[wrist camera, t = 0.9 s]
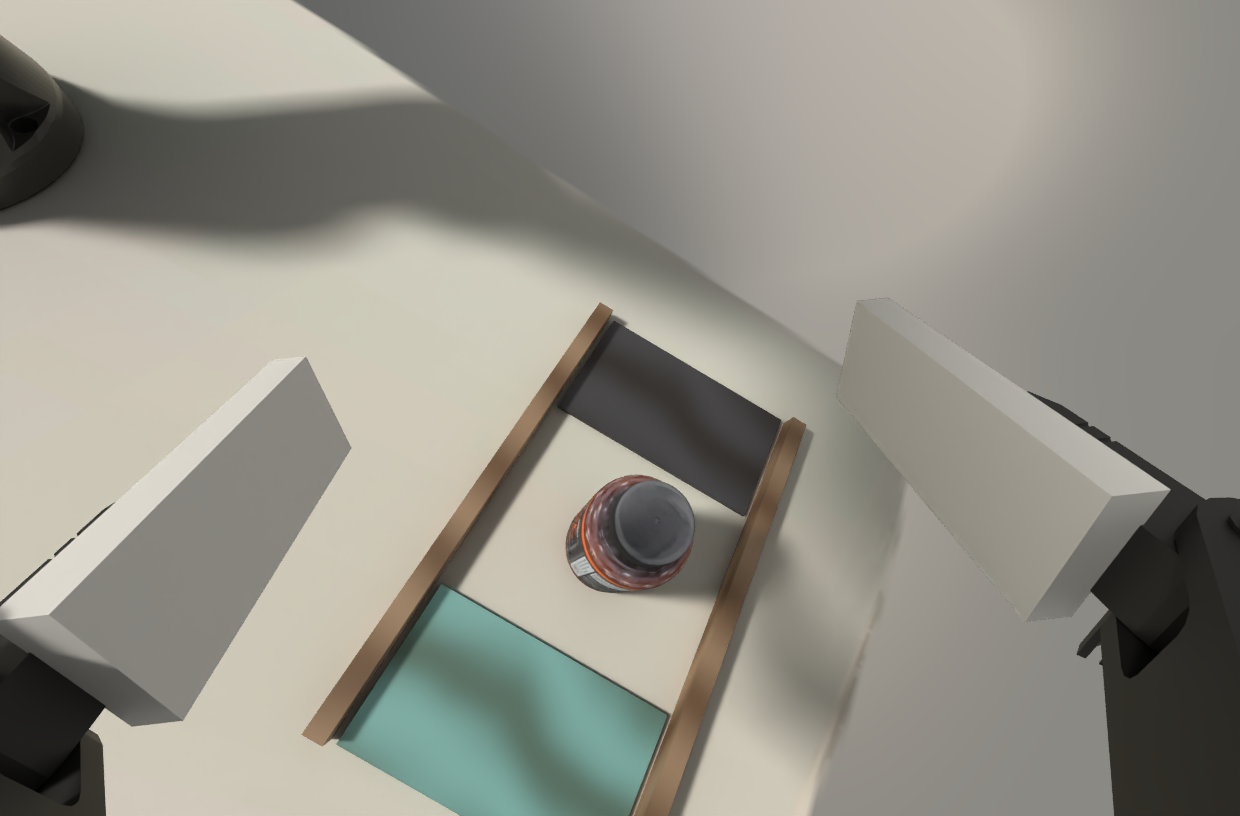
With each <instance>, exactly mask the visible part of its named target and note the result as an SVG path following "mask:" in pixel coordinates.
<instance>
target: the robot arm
mask: <svg viewBox="0 0 1240 816" xmlns="http://www.w3.org/2000/svg"><path fill="white" fill-rule="evenodd" d="M82 136H83V127H82V121H81V117H80V115H79V112H78V110H77V109H76V107H75V105H74V104H73V102H72V101H71V100H70V99H69V98H68V96H67V95H66V94H65V93H64V92H63V90H62V89H61V88H60V87H59V86H58V85H57V83H56V82H55V81H54V80H53V79H52V77H51V76H50V75H49V74H48V73H47V72H46V71H45V70H44V69H43V68H42V67H41V66H40V65H39V64H38V63H37V62H36V61H34V60H33V59H32V58H31V57H29V56H28V55H27V54H25V53H24V52H23V51H21V50H20V49H19V48H17V47H16V46H15V45H13V44H12V43H11V42H9V41H8V40H7V39H5V38H4V37H3V36H1V35H0V209H2V208H5V207H7V206H10V205H12V204H15V203H17V202H19V201H22V200H24V199H26V198H28V197H30V196H32V195H33V194H35V193H37V192H38V191H40V190H42V189H43V188H45V187H46V186H48V185H49V184H50V183H52V182H53V181H54V180H55V179H57V178H58V177H59V176H60V175H61V174H62V173H63V172H64V171H65V170H66V169H67V168H68V166H69V165H70V164H71V163H72V161H73V160H74V158H75V156H76V155H77V153H78V151H79V148H80V145H81V142H82ZM836 397H837V398H838V400H839V401H840V402H841V403H842V404H843V406H844V407H845V408H846V409H847V410H848V412H849V413H850V414H851V415H852V416H853V417H854V419H855V420H856V421H857V422H858V423H859V425H860V426H861V427H862V428H863V429H864V431H865V432H866V433H867V434H868V435H869V437H870V438H871V439H872V440H873V441H874V443H875V444H876V445H877V446H878V447H879V449H880V450H881V451H882V452H883V453H884V455H885V456H886V457H887V458H888V459H889V460H890V462H891V463H892V464H893V465H894V466H895V468H896V469H897V470H898V471H899V472H900V474H901V475H902V476H903V477H904V478H905V480H906V481H907V482H908V483H909V484H910V485H911V487H912V488H913V489H914V490H915V492H916V493H917V494H918V495H919V496H920V497H921V499H922V500H923V501H924V502H925V503H926V505H927V506H928V507H929V508H930V509H931V510H932V512H933V513H934V514H935V515H936V516H937V518H938V519H939V520H940V521H941V523H942V524H943V525H944V526H945V527H946V529H947V530H948V531H949V532H950V533H951V535H952V536H953V537H954V538H955V539H956V540H957V542H958V543H959V544H960V545H961V546H962V548H963V549H964V550H965V551H966V552H967V554H968V555H969V556H970V557H971V558H972V560H973V561H974V562H975V563H976V564H977V565H978V567H979V568H980V569H981V570H982V572H983V573H984V574H985V575H986V576H987V577H988V579H989V580H990V581H991V582H992V583H993V585H994V586H995V587H996V588H997V589H998V591H999V592H1000V593H1001V594H1002V595H1003V597H1004V598H1005V599H1006V600H1007V601H1008V603H1009V604H1010V605H1011V606H1012V607H1013V608H1014V609H1015V611H1016V612H1017V613H1018V615H1019V616H1020V617H1021V618H1022V619H1023V620H1024V622H1029V621H1038V620H1047V619H1055V618H1064V617H1072V616H1073V615H1074V613H1075V612H1076V611H1077V609H1078V608H1079V607H1080V605H1081V604H1082V603H1083V602H1084V601H1085V599H1086V598H1087V597H1088V595H1089V594H1090V593H1091V592H1092V593H1093V594H1094V595H1095V596H1096V597H1097V598H1098V599H1099V600H1100V601H1101V602H1102V603H1103V604H1104V605H1105V606H1106V607H1107V608H1108V609H1109V610H1108V611H1107V613H1106V614H1105V615H1104V616H1103V617H1102V619H1101V620H1100V621H1099V622H1098V623H1097V625H1096V626H1095V627H1094V628H1093V629H1092V630H1091V632H1090V633H1089V634H1088V635H1087V636H1086V638H1085V639H1084V640H1083V641H1082V642H1081V644H1080V645H1079V648H1078V652H1077V655H1079V656H1081V657H1084V658H1086V657H1087V656H1088V655H1089V654H1090V653H1091V652H1092V651H1093V649H1094V648H1095V647H1096V646H1099V645H1101V651H1102V660H1101V661H1100V662H1099V664H1100V665H1103V677H1104V690H1105V702H1106V715H1107V728H1108V741H1109V753H1110V767H1111V780H1112V793H1113V805H1114V816H1240V499H1236V498H1209V499H1207V500H1205V499H1204V498H1202V497H1200V496H1199V495H1197V494H1196V493H1194V492H1193V491H1191V490H1190V489H1188V488H1187V487H1185V486H1183V485H1182V484H1180V483H1179V482H1178V481H1176V480H1174V479H1173V478H1172V477H1170V476H1169V475H1167V474H1165V473H1164V472H1162V471H1161V470H1159V469H1158V468H1156V467H1155V466H1153V465H1151V464H1150V463H1149V462H1147V461H1146V460H1144V459H1143V458H1141V457H1139V456H1138V455H1137V454H1135V453H1134V452H1132V451H1131V450H1129V449H1127V448H1126V447H1124V446H1123V445H1121V444H1120V443H1118V442H1117V441H1114V442H1111V440H1110V437H1109V436H1108V435H1106V434H1105V433H1103V432H1102V431H1100V430H1099V429H1097V428H1096V427H1094V426H1091V427H1089V426H1088V422H1086V421H1085V420H1083V419H1082V418H1080V417H1078V416H1077V415H1076V414H1074V413H1073V412H1071V411H1070V410H1068V409H1067V408H1065V407H1063V406H1062V405H1060V404H1058V403H1055V402H1053V401H1050V400H1048V399H1045V398H1043V397H1041V396H1038V395H1036V394H1033V393H1031V392H1026V391H1025V390H1023V389H1022V388H1020V387H1019V386H1017V385H1016V384H1014V383H1013V382H1011V381H1010V380H1009V379H1007V378H1006V377H1004V376H1003V375H1001V374H1000V373H998V372H997V371H995V370H994V369H992V368H991V367H989V366H988V365H986V364H985V363H983V362H982V361H981V360H979V359H978V358H976V357H975V356H973V355H972V354H970V353H969V352H967V351H966V350H964V349H963V348H961V347H960V346H958V345H957V344H955V343H954V342H953V341H951V340H950V339H948V338H947V337H945V336H944V335H942V334H941V333H939V332H938V331H936V330H935V329H933V328H932V327H931V326H929V325H928V324H926V323H925V322H923V321H921V320H920V319H919V318H917V317H916V316H914V315H913V314H911V313H910V312H908V311H907V310H905V309H904V308H903V307H901V306H899V305H898V304H896V303H895V302H894V301H892V300H891V299H889V298H880V299H871V300H860V301H857V302H856V307H855V311H854V316H853V321H852V326H851V330H850V335H849V340H848V345H847V350H846V354H845V358H844V363H843V368H842V372H841V377H840V382H839V386H838V391H837V396H836ZM350 449H351V446H350V444H349V442H348V440H347V438H346V436H345V434H344V432H343V430H342V428H341V426H340V424H339V422H338V420H337V418H336V416H335V414H334V412H333V410H332V408H331V406H330V404H329V402H328V400H327V398H326V396H325V394H324V392H323V390H322V388H321V386H320V384H319V382H318V380H317V378H316V376H315V374H314V372H313V370H312V368H311V366H310V364H309V362H308V360H307V358H306V356H304V357H294V358H284V359H275V360H272V361H271V362H270V363H269V364H267V365H266V366H265V367H264V368H263V369H262V370H261V371H260V372H259V373H258V374H256V375H255V376H254V377H253V378H252V379H251V380H250V381H249V382H248V383H247V384H245V385H244V386H243V387H242V388H241V389H240V390H239V391H238V392H237V393H235V394H234V395H233V396H232V397H231V398H230V399H229V400H228V401H227V402H226V403H224V404H223V405H222V406H221V407H220V408H219V409H218V410H217V411H216V412H215V413H213V414H212V415H211V416H210V417H209V418H208V419H207V420H206V421H205V422H203V423H202V424H201V425H200V426H199V427H198V428H197V429H196V430H195V431H194V432H192V433H191V434H190V435H189V436H188V437H187V438H186V439H185V440H184V441H183V442H181V443H180V444H179V445H178V446H177V447H176V448H175V449H174V450H173V451H171V452H170V453H169V454H168V455H167V456H166V457H165V458H164V459H163V460H162V461H160V462H159V463H158V464H157V465H156V466H155V467H154V468H153V469H152V470H151V471H149V472H148V473H147V474H146V475H145V476H144V477H143V478H142V479H141V480H139V481H138V482H137V483H136V484H135V485H134V486H133V487H132V488H131V489H130V490H128V491H127V492H126V493H125V494H124V495H123V496H122V497H121V498H120V499H119V500H117V501H116V502H115V503H113V504H111V505H110V506H108V507H107V508H105V509H104V510H102V511H101V512H100V513H99V514H98V515H97V516H96V517H95V518H94V519H92V520H91V521H90V522H89V523H88V524H87V525H86V526H85V527H84V528H82V529H81V530H80V531H79V532H78V533H77V538H71V539H70V540H69V541H68V542H67V543H66V544H65V545H63V546H62V547H61V548H60V549H59V550H58V551H57V552H56V553H55V554H54V555H55V557H54V558H53V559H48V560H47V561H46V562H45V563H43V564H42V565H41V566H40V567H39V568H38V569H37V570H36V571H35V572H33V573H32V574H31V575H30V576H29V577H28V578H27V579H26V580H25V581H23V582H22V583H21V584H20V585H19V586H18V587H17V588H16V589H15V590H13V591H12V592H11V593H10V594H9V595H8V596H7V597H6V598H5V599H3V600H2V601H1V602H0V816H106V807H105V786H104V764H103V745H102V743H101V741H100V738H99V736H98V735H97V734H96V733H94V732H92V731H91V730H89V728H90V727H91V725H92V724H93V723H94V721H95V720H96V719H97V717H98V716H99V715H100V713H101V712H102V711H103V709H104V708H106V709H108V710H109V711H110V712H112V713H113V714H115V715H116V716H117V717H119V718H120V719H122V720H123V721H125V722H126V723H127V724H129V725H130V726H141V725H149V724H158V723H166V722H175V721H183V720H184V718H185V716H186V715H187V713H188V712H189V710H190V708H191V707H192V705H193V703H194V702H195V700H196V699H197V697H198V695H199V694H200V692H201V690H202V689H203V687H204V686H205V684H206V682H207V681H208V679H209V678H210V676H211V674H212V673H213V671H214V669H215V668H216V666H217V665H218V663H219V661H220V660H221V658H222V657H223V655H224V653H225V652H226V650H227V648H228V647H229V645H230V644H231V642H232V640H233V639H234V637H235V635H236V634H237V632H238V631H239V629H240V627H241V626H242V624H243V623H244V621H245V619H246V618H247V616H248V614H249V613H250V611H251V610H252V608H253V606H254V605H255V603H256V602H257V600H258V598H259V597H260V595H261V593H262V592H263V590H264V589H265V587H266V585H267V584H268V582H269V580H270V579H271V577H272V576H273V574H274V572H275V571H276V569H277V568H278V566H279V564H280V563H281V561H282V559H283V558H284V556H285V555H286V553H287V551H288V550H289V548H290V546H291V545H292V543H293V542H294V540H295V538H296V537H297V535H298V534H299V532H300V530H301V529H302V527H303V525H304V524H305V522H306V521H307V519H308V517H309V516H310V514H311V513H312V511H313V509H314V508H315V506H316V504H317V503H318V501H319V500H320V498H321V496H322V495H323V493H324V491H325V490H326V488H327V487H328V485H329V483H330V482H331V480H332V479H333V477H334V475H335V474H336V472H337V470H338V469H339V467H340V466H341V464H342V462H343V461H344V459H345V457H346V456H347V454H348V453H349V451H350Z"/></svg>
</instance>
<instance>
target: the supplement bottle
mask: <svg viewBox="0 0 1240 816" xmlns="http://www.w3.org/2000/svg"><path fill="white" fill-rule="evenodd" d="M694 532H695V520H694V514H693V511H692V508H691V506H690V504H689V502H688V501H687V499H686V498H685V496H684V495H683V494H682V493H681V492H680V491H678V490H677V489H676V488H675V487H673V486H671V485H669V484H667V483H665V482H662V481H660V480H658V479H655V478H652V477H649V476H643V475H628V476H624V477H621V478H618V479H615V480H613V481H612V482H610V483H608V484H606V485H605V486H604V487H603V488H602V489H600V490H599V491H598V492H597V493H596V494H595V495H594V496H593V497H592V499H591V500H590V501H589V502H588V503H587V504H586V505H585V506H584V508H583V509H582V510H581V511H580V512H579V513H578V514H577V516H575V518H574V520H573V521H572V523H571V525H570V528H569V530H568V534H567V538H566V556H567V560H568V563H569V565H570V567H571V569H572V571H573V573H574V574H575V575H576V577H577V578H578V579H579V580H580V581H581V582H582V583H583V584H585V585H586V586H588V587H590V588H592V589H594V590H597V591H601V592H609V593H611V592H625V591H635V590H644V589H650V588H654V587H657V586H660V585H662V584H664V583H666V582H667V581H669V580H670V579H672V578H673V577H674V576H675V575H676V574H677V573H679V571H680V570H681V569H682V567H683V566H684V564H685V563H686V561H687V559H688V556H689V554H690V551H691V547H692V542H693V536H694Z"/></svg>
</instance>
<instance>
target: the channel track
mask: <svg viewBox="0 0 1240 816" xmlns="http://www.w3.org/2000/svg"><path fill="white" fill-rule="evenodd" d="M612 311H613V310H612V309H610V308H609V307H607V306H605V305H604V304H602V303H599V305H598V306H597V308H596V309H595V310H594V312H593V313H592V315H591V316H590V318H589V319H588V321H587V322H586V323H585V325H584V326H583V328H582V329H581V331H580V332H579V334H578V335H577V337H576V338H575V339H574V341H573V342H572V344H571V345H570V347H569V348H568V350H567V351H566V352H565V354H564V355H563V357H562V358H561V360H560V361H559V363H558V364H557V365H556V367H555V368H554V370H553V371H552V373H551V374H550V376H549V377H548V378H547V380H546V381H545V383H544V384H543V386H542V387H541V389H540V390H539V392H538V393H537V394H536V396H535V397H534V399H533V400H532V402H531V403H530V405H529V406H528V407H527V409H526V410H525V412H524V413H523V415H522V416H521V418H520V419H519V420H518V422H517V423H516V425H515V426H514V428H513V429H512V431H511V432H510V434H509V435H508V436H507V438H506V439H505V441H504V442H503V444H502V445H501V447H500V448H499V449H498V451H497V452H496V454H495V455H494V457H493V458H492V460H491V461H490V462H489V464H488V465H487V467H486V468H485V470H484V471H483V473H482V474H481V475H480V477H479V478H478V480H477V481H476V483H475V484H474V486H473V487H472V489H471V490H470V491H469V493H468V494H467V496H466V497H465V499H464V500H463V502H462V503H461V504H460V506H459V507H458V509H457V510H456V512H455V513H454V515H453V516H452V517H451V519H450V520H449V522H448V523H447V525H446V526H445V528H444V529H443V530H442V532H441V533H440V535H439V536H438V538H437V539H436V541H435V542H434V544H433V545H432V546H431V548H430V549H429V551H428V552H427V554H426V555H425V557H424V558H423V559H422V561H421V562H420V564H419V565H418V567H417V568H416V570H415V571H414V572H413V574H412V575H411V577H410V578H409V580H408V581H407V583H406V584H405V585H404V587H403V588H402V590H401V591H400V593H399V594H398V596H397V597H396V599H395V600H394V601H393V603H392V604H391V606H390V607H389V609H388V610H387V612H386V613H385V614H384V616H383V617H382V619H381V620H380V622H379V623H378V625H377V626H376V627H375V629H374V630H373V632H372V633H371V635H370V636H369V638H368V639H367V641H366V642H365V643H364V645H363V646H362V648H361V649H360V651H359V652H358V654H357V655H356V656H355V658H354V659H353V661H352V662H351V664H350V665H349V667H348V668H347V669H346V671H345V672H344V674H343V675H342V677H341V678H340V680H339V681H338V682H337V684H336V685H335V687H334V688H333V690H332V691H331V693H330V694H329V696H328V697H327V698H326V700H325V701H324V703H323V704H322V706H321V707H320V709H319V710H318V711H317V713H316V714H315V716H314V717H313V719H312V720H311V722H310V723H309V724H308V726H307V727H306V729H305V730H304V732H303V733H302V735H303V736H305V737H307V738H308V739H310V740H312V741H314V742H315V743H317V744H319V745H321V746H323V745H325V744H326V743H327V742H328V741H330V740H331V739H332V737H333V736H334V734H335V733H336V731H337V730H338V728H339V727H340V725H341V724H342V722H343V721H344V719H345V718H346V716H347V715H348V713H349V712H350V710H351V709H352V707H353V706H354V704H355V703H356V701H357V700H358V698H359V697H360V695H361V694H362V692H363V691H364V689H365V688H366V686H367V685H368V683H369V682H370V680H371V679H372V677H373V676H374V674H375V673H376V671H377V670H378V668H379V666H380V665H381V663H382V662H383V660H384V659H385V657H386V656H387V654H388V653H389V651H390V650H391V648H392V647H393V645H394V644H395V642H396V641H397V639H398V638H399V636H400V635H401V633H402V632H403V630H404V629H405V627H406V626H407V624H408V623H409V621H410V620H411V618H412V617H413V615H414V614H415V612H416V611H417V609H418V608H419V606H420V605H421V603H422V602H423V600H424V599H425V597H426V596H427V594H428V593H429V591H430V590H431V588H432V587H433V585H434V584H435V582H436V580H437V579H438V577H439V576H440V574H441V573H442V571H443V570H444V568H445V567H446V565H447V564H448V562H449V561H450V559H451V558H452V556H453V555H454V553H455V552H456V550H457V549H458V547H459V546H460V544H461V543H462V541H463V540H464V538H465V537H466V535H467V534H468V532H469V531H470V529H471V528H472V526H473V525H474V523H475V522H476V520H477V519H478V517H479V516H480V514H481V513H482V511H483V510H484V508H485V507H486V505H487V504H488V502H489V501H490V499H491V497H492V496H493V494H494V493H495V491H496V490H497V488H498V487H499V485H500V484H501V482H502V481H503V479H504V478H505V476H506V475H507V473H508V472H509V470H510V469H511V467H512V466H513V464H514V463H515V461H516V460H517V458H518V457H519V455H520V454H521V452H522V451H523V449H524V448H525V446H526V445H527V443H528V442H529V440H530V439H531V437H532V436H533V434H534V433H535V431H536V430H537V428H538V427H539V425H540V424H541V422H542V421H543V419H544V418H545V416H546V415H547V413H548V411H549V410H550V408H551V407H552V405H553V404H554V402H555V401H556V399H557V398H558V396H559V395H560V393H561V392H562V390H563V389H564V387H565V386H566V384H567V383H568V381H569V380H570V378H571V377H572V375H573V374H574V372H575V371H576V369H577V368H578V366H579V365H580V363H581V362H582V360H583V359H584V357H585V356H586V354H587V353H588V351H589V350H590V348H591V347H592V345H593V344H594V342H595V341H596V339H597V338H598V336H599V335H600V333H601V332H602V330H603V329H604V327H605V325H606V324H607V322H608V321H609V319H610V316H611V314H612ZM558 408H560V409H562V410H563V411H565V412H567V413H568V414H570V415H572V416H573V417H575V418H577V419H579V420H580V421H582V422H584V423H585V424H587V425H589V426H590V427H592V428H594V429H596V430H597V431H599V432H601V433H602V434H604V435H606V436H607V437H609V438H611V439H612V440H614V441H616V442H618V443H619V444H621V445H623V446H624V447H626V448H628V449H629V450H631V451H633V452H635V453H636V454H638V455H640V456H641V457H643V458H645V459H646V460H648V461H650V462H652V463H653V464H655V465H657V466H658V467H660V468H662V469H663V470H665V471H667V472H668V473H670V474H672V475H674V476H675V477H677V478H679V479H680V480H682V481H684V482H685V483H687V484H689V485H691V486H692V487H694V488H696V489H697V490H699V491H701V492H702V493H704V494H706V495H708V496H709V497H711V498H713V499H714V500H716V501H718V502H719V503H721V504H723V505H725V506H726V507H728V508H730V509H731V510H733V511H735V512H736V513H738V514H740V515H741V516H744V515H745V513H746V510H747V507H748V505H749V502H750V500H751V497H752V494H753V492H754V489H755V487H756V484H757V481H758V479H759V476H760V474H761V471H762V468H763V466H764V463H765V461H766V458H767V455H768V453H769V450H770V448H771V445H772V442H773V440H774V437H775V435H776V432H777V429H778V427H779V424H780V422H781V420H780V419H779V418H777V417H775V416H774V415H772V414H770V413H769V412H767V411H765V410H764V409H762V408H760V407H759V406H757V405H755V404H753V403H752V402H750V401H748V400H747V399H745V398H743V397H742V396H740V395H738V394H737V393H735V392H733V391H732V390H730V389H728V388H727V387H725V386H723V385H721V384H720V383H718V382H716V381H715V380H713V379H711V378H710V377H708V376H706V375H705V374H703V373H701V372H700V371H698V370H696V369H694V368H693V367H691V366H689V365H688V364H686V363H684V362H683V361H681V360H679V359H678V358H676V357H674V356H673V355H671V354H669V353H668V352H666V351H664V350H662V349H661V348H659V347H657V346H656V345H654V344H652V343H651V342H649V341H647V340H646V339H644V338H642V337H641V336H639V335H637V334H635V333H634V332H632V331H630V330H629V329H627V328H625V327H624V326H622V325H620V324H619V323H617V322H615V321H613V323H612V325H611V326H610V328H609V329H608V331H607V332H606V334H605V335H604V337H603V338H602V340H601V341H600V343H599V344H598V346H597V347H596V349H595V350H594V352H593V354H592V355H591V357H590V358H589V360H588V361H587V363H586V364H585V366H584V367H583V369H582V370H581V372H580V373H579V375H578V376H577V378H576V379H575V381H574V382H573V384H572V386H571V387H570V389H569V390H568V392H567V393H566V395H565V396H564V398H563V399H562V401H561V402H560V404H559V405H558ZM805 427H806V424H804V423H802V422H801V421H799V420H797V419H796V418H794V417H793V418H791V419H790V420H788V421H787V422H785V423H784V424H783V426H782V429H781V431H780V434H779V436H778V439H777V442H776V444H775V447H774V450H773V452H772V455H771V457H770V460H769V463H768V465H767V468H766V471H765V473H764V476H763V478H762V481H761V484H760V486H759V489H758V492H757V494H756V497H755V499H754V502H753V505H752V507H751V510H750V513H749V515H748V518H747V520H746V523H745V526H744V528H743V531H742V534H741V536H740V539H739V542H738V544H737V547H736V549H735V552H734V555H733V557H732V560H731V563H730V565H729V568H728V570H727V573H726V576H725V578H724V581H723V584H722V586H721V589H720V591H719V594H718V597H717V599H716V602H715V605H714V607H713V610H712V612H711V615H710V618H709V620H708V623H707V626H706V628H705V631H704V633H703V636H702V639H701V641H700V644H699V647H698V649H697V652H696V654H695V657H694V660H693V662H692V665H691V668H690V670H689V673H688V676H687V678H686V681H685V683H684V686H683V689H682V691H681V694H680V697H679V699H678V702H677V704H676V707H675V710H674V712H673V715H672V718H671V720H670V723H669V725H668V728H667V731H666V733H665V736H664V739H663V741H662V744H661V746H660V749H659V752H658V754H657V757H656V760H655V762H654V765H653V767H652V770H651V773H650V775H649V778H648V781H647V783H646V786H645V789H644V791H643V794H642V796H641V799H640V802H639V804H638V807H637V810H636V812H635V815H634V816H668V815H669V812H670V809H671V806H672V803H673V800H674V798H675V795H676V792H677V789H678V786H679V783H680V781H681V778H682V775H683V772H684V769H685V766H686V764H687V761H688V758H689V755H690V752H691V749H692V747H693V744H694V741H695V738H696V735H697V733H698V730H699V727H700V724H701V721H702V718H703V716H704V713H705V710H706V707H707V704H708V701H709V699H710V696H711V693H712V690H713V687H714V684H715V682H716V679H717V676H718V673H719V670H720V667H721V665H722V662H723V659H724V656H725V653H726V650H727V648H728V645H729V642H730V639H731V636H732V633H733V631H734V628H735V625H736V622H737V619H738V617H739V614H740V611H741V608H742V605H743V602H744V600H745V597H746V594H747V591H748V588H749V585H750V583H751V580H752V577H753V574H754V571H755V568H756V566H757V563H758V560H759V557H760V554H761V551H762V549H763V546H764V543H765V540H766V537H767V534H768V532H769V529H770V526H771V523H772V520H773V517H774V515H775V512H776V509H777V506H778V503H779V501H780V498H781V495H782V492H783V489H784V486H785V484H786V481H787V478H788V475H789V472H790V469H791V467H792V464H793V461H794V458H795V455H796V452H797V450H798V447H799V444H800V441H801V438H802V435H803V433H804V430H805ZM666 718H667V715H666V714H665V713H663V712H661V711H660V710H658V709H656V708H654V707H653V706H651V705H649V704H648V703H646V702H644V701H642V700H641V699H639V698H637V697H636V696H634V695H632V694H630V693H629V692H627V691H625V690H623V689H622V688H620V687H618V686H617V685H615V684H613V683H611V682H610V681H608V680H606V679H605V678H603V677H601V676H599V675H598V674H596V673H594V672H592V671H591V670H589V669H587V668H586V667H584V666H582V665H580V664H579V663H577V662H575V661H574V660H572V659H570V658H568V657H567V656H565V655H563V654H561V653H560V652H558V651H556V650H555V649H553V648H551V647H549V646H548V645H546V644H544V643H543V642H541V641H539V640H537V639H536V638H534V637H532V636H530V635H529V634H527V633H525V632H524V631H522V630H520V629H518V628H517V627H515V626H513V625H512V624H510V623H508V622H506V621H505V620H503V619H501V618H499V617H498V616H496V615H494V614H493V613H491V612H489V611H487V610H486V609H484V608H482V607H481V606H479V605H477V604H475V603H474V602H472V601H470V600H468V599H467V598H465V597H463V596H462V595H460V594H458V593H456V592H455V591H453V590H451V589H450V588H448V587H446V586H444V585H443V584H441V585H440V587H439V588H438V590H437V591H436V593H435V594H434V596H433V598H432V599H431V601H430V602H429V604H428V605H427V607H426V608H425V610H424V611H423V613H422V614H421V616H420V617H419V619H418V620H417V622H416V623H415V625H414V626H413V628H412V630H411V631H410V633H409V634H408V636H407V637H406V639H405V640H404V642H403V643H402V645H401V646H400V648H399V649H398V651H397V652H396V654H395V655H394V657H393V659H392V660H391V662H390V663H389V665H388V666H387V668H386V669H385V671H384V672H383V674H382V675H381V677H380V678H379V680H378V681H377V683H376V684H375V686H374V687H373V689H372V691H371V692H370V694H369V695H368V697H367V698H366V700H365V701H364V703H363V704H362V706H361V707H360V709H359V710H358V712H357V713H356V715H355V716H354V718H353V720H352V721H351V723H350V724H349V726H348V727H347V729H346V730H345V732H344V733H343V735H342V736H341V738H340V739H339V741H338V742H337V744H336V745H338V746H340V747H342V748H343V749H345V750H347V751H349V752H350V753H352V754H354V755H356V756H357V757H359V758H361V759H363V760H364V761H366V762H368V763H370V764H371V765H373V766H375V767H377V768H378V769H380V770H382V771H384V772H385V773H387V774H389V775H391V776H392V777H394V778H396V779H397V780H399V781H401V782H403V783H404V784H406V785H408V786H410V787H411V788H413V789H415V790H417V791H418V792H420V793H422V794H424V795H425V796H427V797H429V798H431V799H432V800H434V801H436V802H438V803H439V804H441V805H443V806H445V807H446V808H448V809H450V810H452V811H453V812H455V813H457V814H459V815H460V816H629V814H630V811H631V809H632V806H633V804H634V801H635V799H636V796H637V793H638V791H639V788H640V786H641V783H642V780H643V778H644V775H645V773H646V770H647V767H648V765H649V762H650V760H651V757H652V754H653V752H654V749H655V747H656V744H657V741H658V739H659V736H660V734H661V731H662V728H663V726H664V723H665V721H666Z"/></svg>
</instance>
